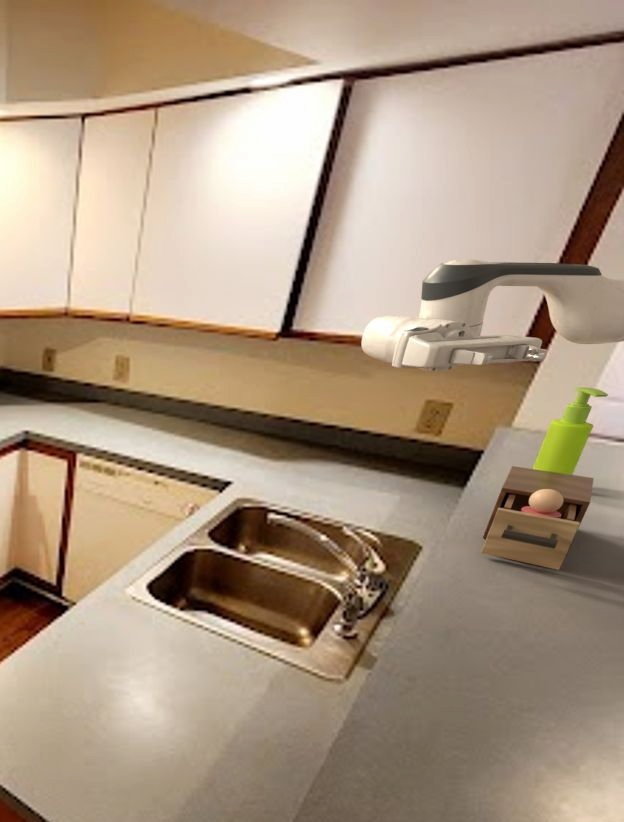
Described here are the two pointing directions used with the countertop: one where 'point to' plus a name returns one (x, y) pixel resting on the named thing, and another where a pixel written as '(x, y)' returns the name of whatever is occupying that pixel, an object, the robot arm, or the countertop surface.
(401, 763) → the countertop surface
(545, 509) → the doll
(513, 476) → the cabinet
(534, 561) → the drawer
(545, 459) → the soap dispenser
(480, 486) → the countertop surface
